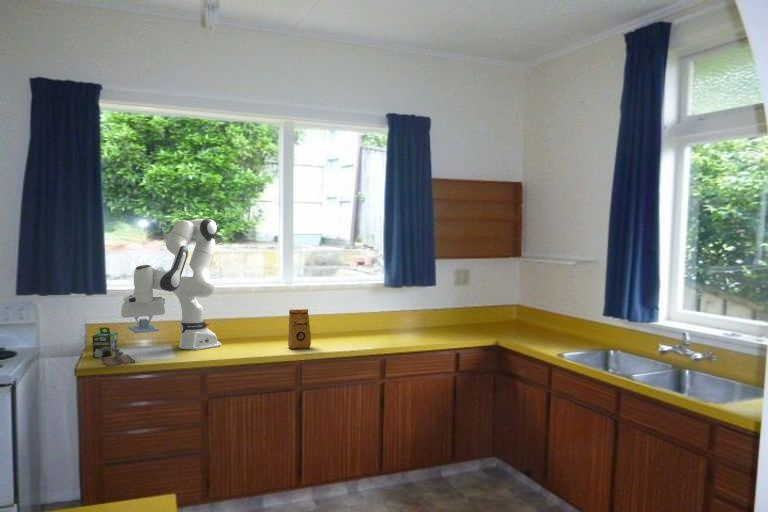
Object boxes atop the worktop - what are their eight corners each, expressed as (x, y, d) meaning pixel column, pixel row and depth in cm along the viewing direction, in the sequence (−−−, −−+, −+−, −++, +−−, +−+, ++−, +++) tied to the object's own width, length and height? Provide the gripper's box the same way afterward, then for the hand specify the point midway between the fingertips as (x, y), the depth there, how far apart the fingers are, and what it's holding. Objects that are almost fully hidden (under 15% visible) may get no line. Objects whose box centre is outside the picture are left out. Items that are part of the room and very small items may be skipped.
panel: (151, 326, 283) (151, 316, 283) (159, 331, 271) (159, 320, 271) (128, 328, 277) (128, 318, 276) (135, 333, 265) (135, 322, 264)
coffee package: (311, 349, 303) (312, 310, 302) (288, 350, 300) (289, 310, 298) (309, 345, 312) (309, 307, 311) (287, 346, 309) (287, 307, 308)
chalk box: (118, 353, 284) (118, 325, 283) (111, 357, 275) (110, 328, 274) (100, 353, 283) (100, 325, 282) (92, 357, 274) (91, 328, 273)
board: (127, 356, 278) (127, 346, 277) (135, 363, 265) (135, 352, 265) (101, 359, 270) (101, 348, 270) (107, 366, 258) (107, 355, 257)
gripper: (163, 295, 282) (163, 322, 283) (120, 298, 270) (120, 325, 270) (166, 297, 277) (166, 324, 278) (123, 299, 265) (123, 327, 265)
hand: (143, 324), depth 274 cm, fingers closed on panel, 3 cm apart
